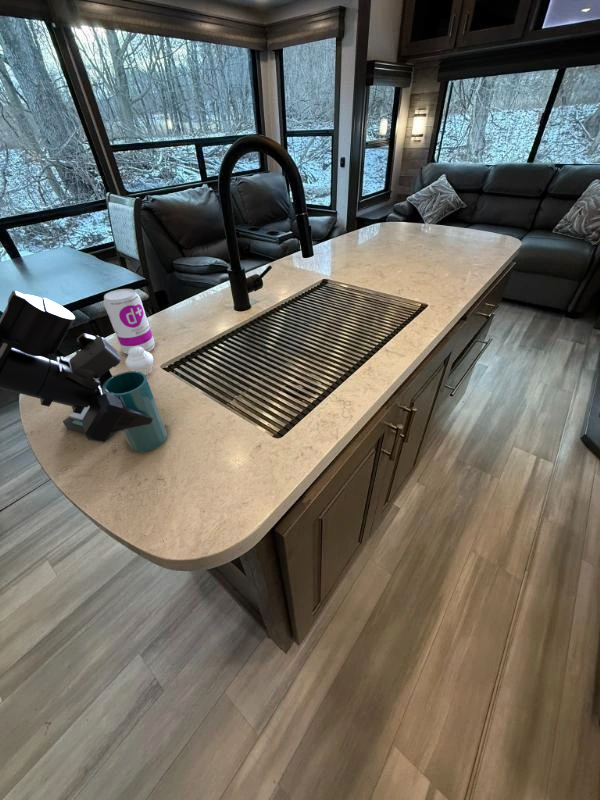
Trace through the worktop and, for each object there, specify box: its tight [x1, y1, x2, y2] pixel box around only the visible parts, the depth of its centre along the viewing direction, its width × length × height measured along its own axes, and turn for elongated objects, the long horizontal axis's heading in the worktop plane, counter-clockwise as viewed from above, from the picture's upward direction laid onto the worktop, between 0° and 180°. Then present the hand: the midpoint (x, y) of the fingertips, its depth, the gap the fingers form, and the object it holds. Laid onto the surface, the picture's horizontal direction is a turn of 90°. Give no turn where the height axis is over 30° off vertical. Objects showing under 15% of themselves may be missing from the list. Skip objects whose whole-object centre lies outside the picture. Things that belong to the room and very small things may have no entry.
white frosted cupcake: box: [124, 346, 154, 376], centre depth 78 cm, size 6×6×7 cm
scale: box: [62, 406, 117, 442], centre depth 67 cm, size 12×10×3 cm
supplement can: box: [103, 288, 156, 355], centre depth 84 cm, size 8×8×15 cm
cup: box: [102, 370, 168, 453], centre depth 58 cm, size 7×7×13 cm
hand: (144, 407), depth 59 cm, fingers open, 8 cm apart
